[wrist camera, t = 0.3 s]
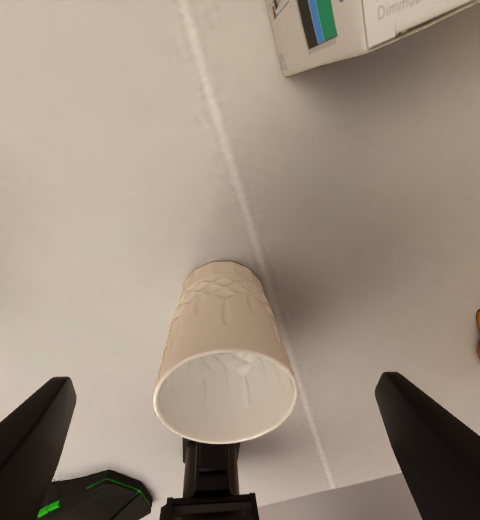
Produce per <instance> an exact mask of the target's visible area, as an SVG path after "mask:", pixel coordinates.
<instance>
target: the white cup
mask: <svg viewBox="0 0 480 520" xmlns="http://www.w3.org/2000/svg"><path fill="white" fill-rule="evenodd" d="M298 394H299V390H298V384H297V381H296V378H295V375H294V372H293V369H292V367H291V364H290V361H289V358H288V355H287V352H286V349H285V347H284V344H283V341H282V338H281V335H280V332H279V329H278V326H277V323H276V321H275V318H274V316H273V313H272V310H271V308H270V305H269V303H268V301H267V299H266V297H265V295H264V292H263V289H262V285H261V282H260V280H259V279H258V278H257V277H256V276H255V275H254V274H253V272H252V271H251V270H250V269H249V268H247V267H244V266H242V265H239V264H237V263H235V262H232V261H229V262H211V263H209V264H206V265H204V266H202V267H199V268H197V269H195V270H194V272H193V273H192V274H191V275H190V276H189V277H188V278H187V280H186V281H185V282H184V285H183V289H182V293H181V297H180V300H179V303H178V305H177V307H176V310H175V313H174V317H173V320H172V323H171V327H170V331H169V334H168V338H167V342H166V346H165V350H164V354H163V358H162V362H161V366H160V370H159V374H158V378H157V381H156V385H155V389H154V393H153V407H154V410H155V413H156V415H157V417H158V418H159V420H160V421H161V422H162V423H163V424H164V425H165V426H166V427H167V428H168V429H169V430H171V431H172V432H174V433H175V434H177V435H179V436H181V437H184V438H186V439H189V440H193V441H196V442H201V443H208V444H231V443H238V442H243V441H248V440H251V439H254V438H257V437H260V436H262V435H264V434H266V433H268V432H270V431H272V430H274V429H275V428H277V427H278V426H279V425H281V424H282V423H283V422H284V421H285V420H286V419H287V418H288V417H289V416H290V414H291V413H292V411H293V410H294V408H295V406H296V403H297V400H298Z"/></svg>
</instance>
